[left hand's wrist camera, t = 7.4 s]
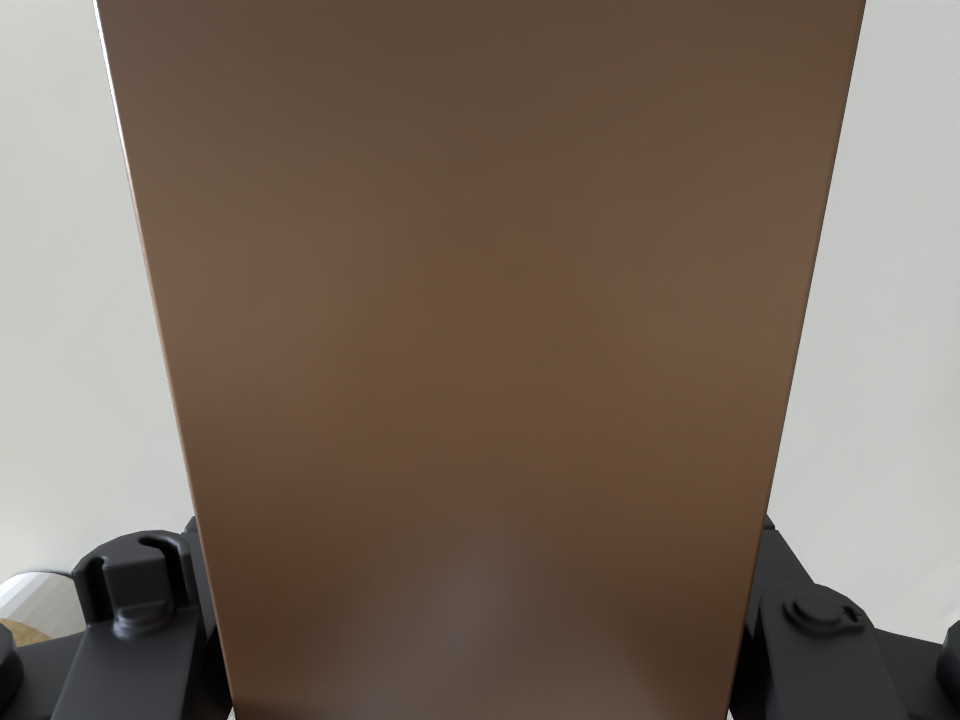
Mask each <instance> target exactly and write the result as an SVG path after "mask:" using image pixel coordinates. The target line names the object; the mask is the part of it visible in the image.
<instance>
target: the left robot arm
mask: <svg viewBox="0 0 960 720" xmlns="http://www.w3.org/2000/svg"><path fill="white" fill-rule="evenodd" d="M71 574H72V577H73V581H74V584H75V588H76V591H77V595H78V598H79V602H80V605H81V609H82V612H83V616H84V619H85V623H86V629H85V631H82V632H79V633H75V634H72V635H69V636H65V637H60V638H56V639H52V640H47V641H43V642H39V643H34V644H30V645H25V646H21V647H17V646H16V643H15V640H14V637H13V634H12V631H10V630H9V629H8V628H7V627H6V626H4V625H3V624H2V623H0V720H227V719H228V716H229V714H230V711H231V709H232V706H233V703H232V698H231V693H230V688H229V683H228V678H227V673H226V668H225V663H224V658H223V653H222V648H221V643H220V638H219V633H218V628H217V623H216V618H215V613H214V608H213V603H212V598H211V593H210V588H209V583H208V578H207V573H206V568H205V563H204V558H203V553H202V548H201V543H200V538H199V532H198V527H197V522H196V517H195V516H193V517H192V518H191V520H190V521H189V523H188V524H187V526H186V527H185V532H182V533H181V535H179V534H177V533H173V532H169V531H165V530H153V531H140V532H136V533H132V534H128V535H124V536H120V537H118V538H116V539H113V540H111V541H109V542H107V543H104V544H102V545H100V546H98V547H97V548H96V549H94V550H93V551H91V552H90V553H89V554H87V555H86V556H85V557H83V558H82V559H81V560H80V562H79V563H78V564H77V565H76V567H75V568H74V569H73V571H72V572H71ZM729 710H730V712H731V714H732V717H733V719H734V720H960V620H958V621H957V622H956V623H955V624H954V625H952V626H951V627H950V628H949V629H948V632H947V634H946V637H945V640H944V643H943V645H942V644H938V643H933V642H929V641H925V640H920V639H916V638H911V637H907V636H903V635H898V634H894V633H890V632H887V631H883V630H880V629H877V628H874V625H873V624H872V622H871V621H870V619H869V618H868V616H867V615H866V613H865V612H864V610H862V609H861V608H860V607H859V606H858V605H856V604H855V603H854V602H853V601H851V600H850V599H849V598H848V597H846V596H844V595H842V594H840V593H838V592H836V591H834V590H832V589H830V588H828V587H826V586H822V585H819V584H815V583H814V582H813V581H812V579H811V578H810V576H809V575H808V573H807V572H806V570H805V569H804V567H803V566H802V565H801V563H800V562H799V560H798V559H797V557H796V556H795V554H794V553H793V551H792V550H791V549H790V547H789V546H788V544H787V543H786V541H785V540H784V538H783V537H782V536H781V534H780V533H779V531H778V530H775V525H774V524H773V522H772V521H771V520H770V518H769V517H768V515H767V514H766V519H765V524H764V529H763V534H762V539H761V544H760V550H759V555H758V560H757V565H756V570H755V575H754V581H753V586H752V591H751V596H750V601H749V606H748V611H747V617H746V622H745V627H744V632H743V637H742V642H741V647H740V653H739V658H738V663H737V668H736V673H735V678H734V684H733V689H732V694H731V699H730V704H729Z"/></svg>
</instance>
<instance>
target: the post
mask: <svg viewBox="0 0 960 720" xmlns="http://www.w3.org/2000/svg"><path fill="white" fill-rule="evenodd" d="M865 4H866V0H93V5H94V10H95V15H96V21H97V26H98V31H99V36H100V41H101V46H102V51H103V56H104V61H105V66H106V71H107V76H108V81H109V86H110V91H111V96H112V101H113V106H114V111H115V116H116V121H117V126H118V131H119V136H120V141H121V146H122V151H123V156H124V161H125V166H126V171H127V176H128V181H129V186H130V191H131V196H132V201H133V206H134V211H135V216H136V221H137V226H138V231H139V236H140V241H141V246H142V251H143V256H144V261H145V266H146V271H147V277H148V282H149V287H150V292H151V297H152V302H153V307H154V312H155V317H156V322H157V327H158V332H159V337H160V342H161V347H162V352H163V357H164V362H165V367H166V372H167V377H168V382H169V387H170V392H171V397H172V402H173V407H174V412H175V417H176V422H177V427H178V432H179V437H180V442H181V447H182V452H183V457H184V462H185V467H186V472H187V477H188V482H189V487H190V492H191V497H192V502H193V507H194V512H195V517H196V522H197V527H198V532H199V538H200V543H201V548H202V553H203V558H204V563H205V568H206V573H207V578H208V583H209V588H210V593H211V598H212V603H213V608H214V613H215V618H216V623H217V628H218V633H219V638H220V643H221V648H222V653H223V658H224V663H225V668H226V673H227V678H228V683H229V688H230V693H231V698H232V703H233V708H234V713H235V718H236V720H727V714H728V709H729V704H730V699H731V694H732V689H733V684H734V678H735V673H736V668H737V663H738V658H739V653H740V647H741V642H742V637H743V632H744V627H745V622H746V617H747V611H748V606H749V601H750V596H751V591H752V586H753V581H754V575H755V570H756V565H757V560H758V555H759V550H760V544H761V539H762V534H763V529H764V524H765V519H766V514H767V508H768V503H769V498H770V493H771V488H772V483H773V478H774V472H775V467H776V462H777V457H778V452H779V447H780V442H781V436H782V431H783V426H784V421H785V416H786V411H787V405H788V400H789V395H790V390H791V385H792V380H793V375H794V369H795V364H796V359H797V354H798V349H799V344H800V339H801V333H802V328H803V323H804V318H805V313H806V308H807V302H808V297H809V292H810V287H811V282H812V277H813V272H814V266H815V261H816V256H817V251H818V246H819V241H820V236H821V230H822V225H823V220H824V215H825V210H826V205H827V199H828V194H829V189H830V184H831V179H832V174H833V169H834V163H835V158H836V153H837V148H838V143H839V138H840V133H841V127H842V122H843V117H844V112H845V107H846V102H847V96H848V91H849V86H850V81H851V76H852V71H853V66H854V60H855V55H856V50H857V45H858V40H859V35H860V30H861V24H862V19H863V14H864V9H865Z"/></svg>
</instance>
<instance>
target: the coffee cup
mask: <svg viewBox="0 0 960 720" xmlns="http://www.w3.org/2000/svg"><path fill="white" fill-rule="evenodd" d="M0 623H2V624H3V625H4V626H6V627H7V628H8V629H9V630H10V631H12V634H13V637H14V640H15V643H16V646H17V647H21V646H25V645H30V644H34V643H39V642H43V641H47V640H52V639H56V638H60V637H65V636H69V635H72V634H75V633H79V632H82V631H85V629H86V623H85V619H84V616H83V612H82V609H81V605H80V602H79V598H78V595H77V591H76V588H75V584H74V581H73V579H70V578H68V577H65V576H62V575H58V574H54V573H47V572H29V573H24V574H20V575H17V576H15V577H13V578H10V579H9V580H8V581H6V582H5V583H4V584H2V585H1V586H0Z"/></svg>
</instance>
